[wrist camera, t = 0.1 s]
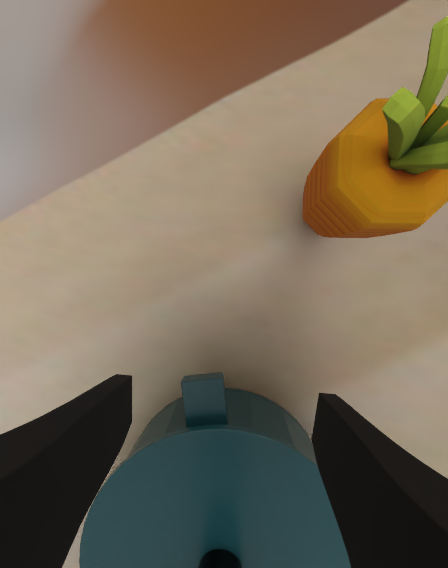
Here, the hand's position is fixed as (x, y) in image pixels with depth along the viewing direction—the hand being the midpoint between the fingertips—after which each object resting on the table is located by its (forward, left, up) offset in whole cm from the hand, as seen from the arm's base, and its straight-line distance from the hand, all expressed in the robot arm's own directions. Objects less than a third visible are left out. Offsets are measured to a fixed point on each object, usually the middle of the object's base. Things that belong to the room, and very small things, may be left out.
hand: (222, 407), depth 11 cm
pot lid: (-8, -7, -5) cm, 12 cm away
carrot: (+11, +2, -11) cm, 15 cm away
